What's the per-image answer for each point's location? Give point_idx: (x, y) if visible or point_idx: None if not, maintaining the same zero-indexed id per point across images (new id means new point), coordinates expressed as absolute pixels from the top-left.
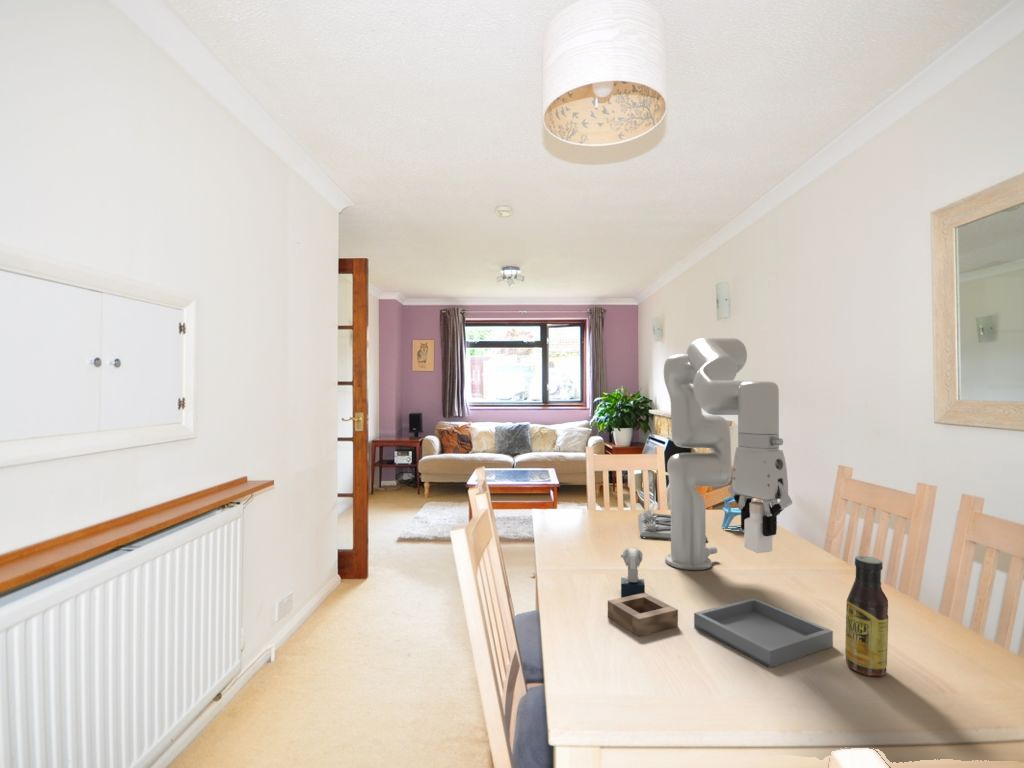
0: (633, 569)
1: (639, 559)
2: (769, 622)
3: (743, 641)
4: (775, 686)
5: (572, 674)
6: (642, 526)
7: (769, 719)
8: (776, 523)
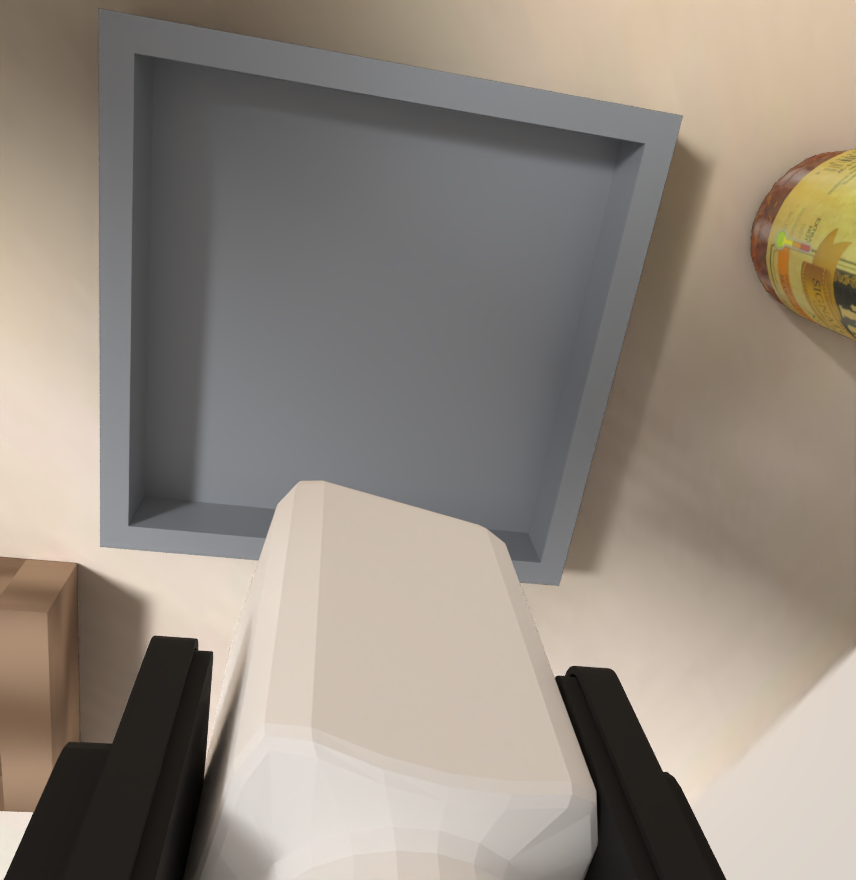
0: None
1: None
2: (313, 149)
3: None
4: (611, 631)
5: None
6: None
7: (670, 774)
8: (718, 871)
